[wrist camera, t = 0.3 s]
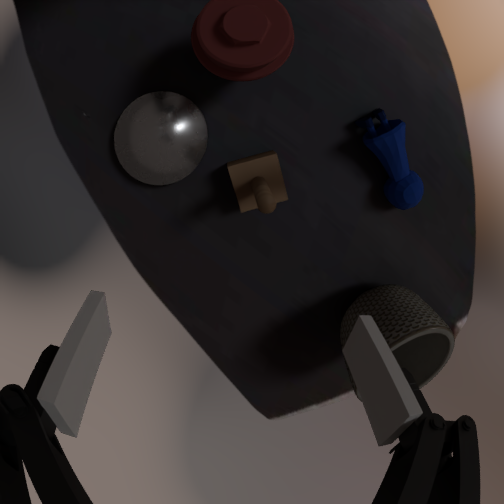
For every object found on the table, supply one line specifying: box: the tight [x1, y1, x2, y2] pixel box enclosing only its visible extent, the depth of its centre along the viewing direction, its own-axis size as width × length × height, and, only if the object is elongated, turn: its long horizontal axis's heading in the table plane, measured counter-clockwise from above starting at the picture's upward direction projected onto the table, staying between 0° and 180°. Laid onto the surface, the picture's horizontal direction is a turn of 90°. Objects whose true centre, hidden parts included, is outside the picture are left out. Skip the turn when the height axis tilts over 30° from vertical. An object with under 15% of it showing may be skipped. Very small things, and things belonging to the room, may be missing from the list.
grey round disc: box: [114, 91, 208, 185], centre depth 33 cm, size 12×12×2 cm
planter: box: [340, 284, 455, 401], centre depth 42 cm, size 17×17×16 cm
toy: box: [355, 108, 424, 210], centre depth 35 cm, size 7×6×15 cm
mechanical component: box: [191, 0, 294, 81], centre depth 24 cm, size 12×10×10 cm
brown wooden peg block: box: [227, 150, 288, 214], centre depth 32 cm, size 6×6×11 cm
